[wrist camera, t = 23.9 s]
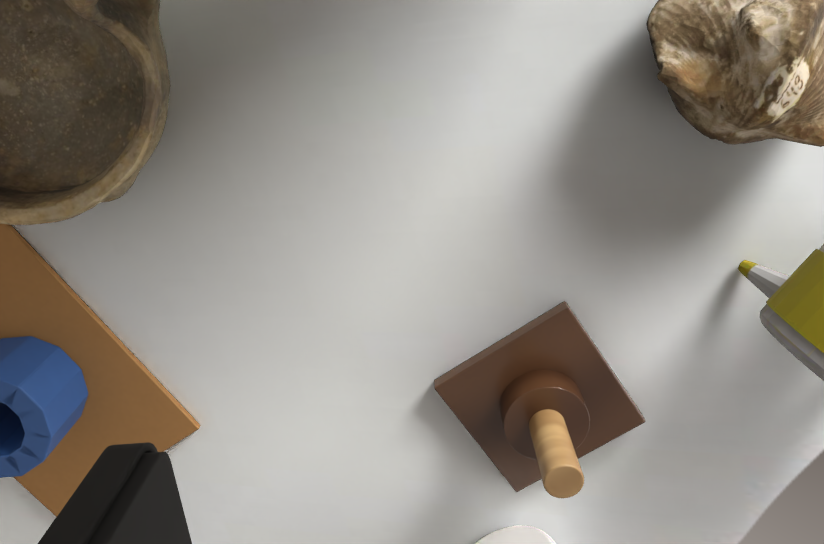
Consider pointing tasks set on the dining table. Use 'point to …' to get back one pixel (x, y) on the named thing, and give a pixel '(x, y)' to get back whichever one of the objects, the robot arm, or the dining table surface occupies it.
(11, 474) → the blue hollow cylinder
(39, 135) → the bowl
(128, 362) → the mat
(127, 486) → the robot arm
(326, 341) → the dining table surface
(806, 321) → the alarm clock
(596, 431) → the dowel stand
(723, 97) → the fossilized seashell
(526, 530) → the mug
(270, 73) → the dining table surface
